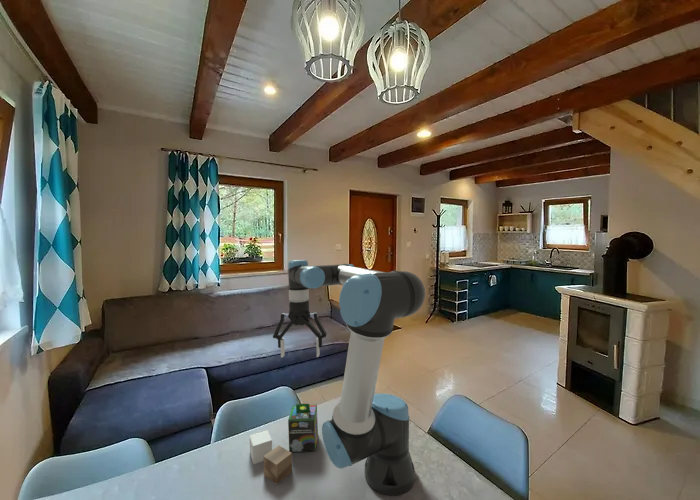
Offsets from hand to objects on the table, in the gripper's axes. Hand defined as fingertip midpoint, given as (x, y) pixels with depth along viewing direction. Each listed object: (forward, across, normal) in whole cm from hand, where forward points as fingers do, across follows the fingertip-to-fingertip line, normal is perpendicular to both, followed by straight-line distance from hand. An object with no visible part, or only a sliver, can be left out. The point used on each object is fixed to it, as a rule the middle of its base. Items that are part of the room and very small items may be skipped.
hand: (300, 356), depth 114 cm
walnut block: (+28, +3, +23) cm, 36 cm away
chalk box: (+28, -2, +9) cm, 29 cm away
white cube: (+28, +11, +15) cm, 33 cm away
